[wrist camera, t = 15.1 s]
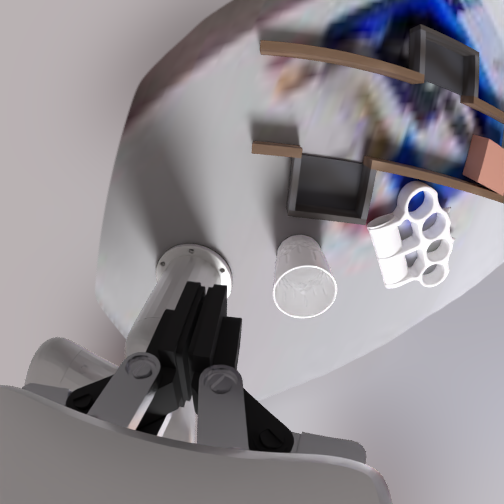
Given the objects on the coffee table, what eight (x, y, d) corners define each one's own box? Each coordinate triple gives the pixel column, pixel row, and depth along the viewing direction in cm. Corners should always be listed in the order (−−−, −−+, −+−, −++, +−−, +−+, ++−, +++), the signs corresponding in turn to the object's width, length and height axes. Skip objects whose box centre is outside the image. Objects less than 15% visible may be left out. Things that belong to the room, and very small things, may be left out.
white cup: (274, 228, 42) (275, 263, 33) (328, 232, 41) (342, 267, 32) (271, 275, 45) (270, 316, 36) (320, 278, 45) (330, 319, 36)
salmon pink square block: (487, 187, 35) (503, 196, 31) (461, 174, 35) (477, 181, 31) (498, 150, 32) (514, 156, 28) (472, 134, 32) (489, 138, 28)
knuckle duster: (357, 203, 39) (438, 168, 36) (386, 294, 46) (454, 262, 42) (364, 211, 36) (449, 174, 33) (392, 306, 43) (463, 272, 40)
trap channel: (483, 236, 39) (501, 252, 34) (249, 203, 40) (245, 219, 35) (511, 81, 25) (533, 82, 20) (265, -1, 26) (264, -19, 21)
